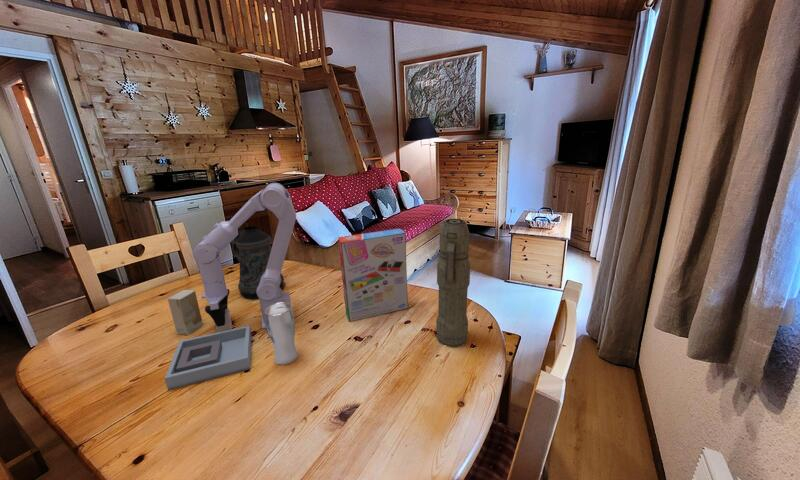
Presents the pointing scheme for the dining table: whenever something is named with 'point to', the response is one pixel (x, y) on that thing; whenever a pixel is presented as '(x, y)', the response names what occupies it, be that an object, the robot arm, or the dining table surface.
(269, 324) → the beer glass
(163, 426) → the dining table surface
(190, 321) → the skincare box
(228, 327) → the plug
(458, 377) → the dining table surface
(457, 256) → the thermos
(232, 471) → the dining table surface
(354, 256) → the game box
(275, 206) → the robot arm
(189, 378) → the inlet box
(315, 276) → the dining table surface
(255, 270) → the beer stein
